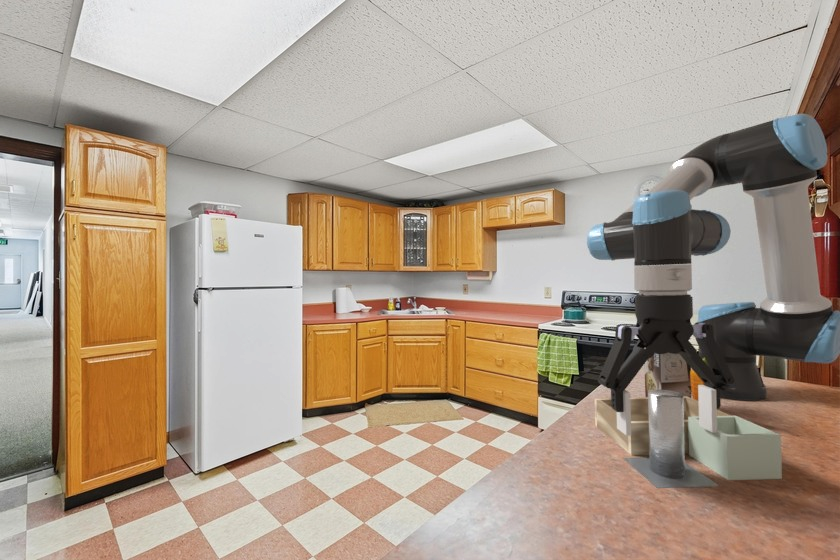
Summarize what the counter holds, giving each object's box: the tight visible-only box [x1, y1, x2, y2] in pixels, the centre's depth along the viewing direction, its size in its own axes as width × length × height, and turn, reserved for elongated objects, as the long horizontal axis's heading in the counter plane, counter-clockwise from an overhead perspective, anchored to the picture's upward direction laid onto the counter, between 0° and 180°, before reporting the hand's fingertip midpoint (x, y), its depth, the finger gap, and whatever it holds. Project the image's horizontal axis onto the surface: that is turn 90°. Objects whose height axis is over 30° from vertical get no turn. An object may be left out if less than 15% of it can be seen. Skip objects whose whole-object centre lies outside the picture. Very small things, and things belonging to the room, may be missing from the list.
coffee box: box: [643, 348, 692, 398], centre depth 87 cm, size 9×6×16 cm
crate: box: [594, 396, 732, 456], centre depth 71 cm, size 19×13×6 cm
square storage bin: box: [688, 415, 783, 481], centre depth 60 cm, size 8×8×7 cm
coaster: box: [622, 457, 720, 489], centre depth 59 cm, size 9×9×1 cm
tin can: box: [648, 389, 686, 479], centre depth 59 cm, size 5×5×12 cm
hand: (666, 430), depth 59 cm, fingers open, 12 cm apart
